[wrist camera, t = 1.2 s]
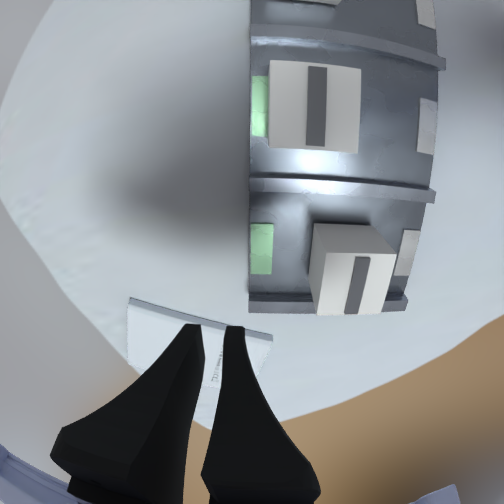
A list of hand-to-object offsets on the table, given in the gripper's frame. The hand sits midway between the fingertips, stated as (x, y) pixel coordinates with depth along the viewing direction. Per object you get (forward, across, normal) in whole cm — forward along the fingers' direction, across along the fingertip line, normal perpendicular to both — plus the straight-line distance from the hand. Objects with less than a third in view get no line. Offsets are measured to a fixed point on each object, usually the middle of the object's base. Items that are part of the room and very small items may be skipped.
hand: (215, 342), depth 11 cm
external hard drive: (+11, +4, +11) cm, 16 cm away
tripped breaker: (+9, -7, 0) cm, 11 cm away
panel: (+10, -7, -9) cm, 15 cm away
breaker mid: (+9, -4, -9) cm, 13 cm away
